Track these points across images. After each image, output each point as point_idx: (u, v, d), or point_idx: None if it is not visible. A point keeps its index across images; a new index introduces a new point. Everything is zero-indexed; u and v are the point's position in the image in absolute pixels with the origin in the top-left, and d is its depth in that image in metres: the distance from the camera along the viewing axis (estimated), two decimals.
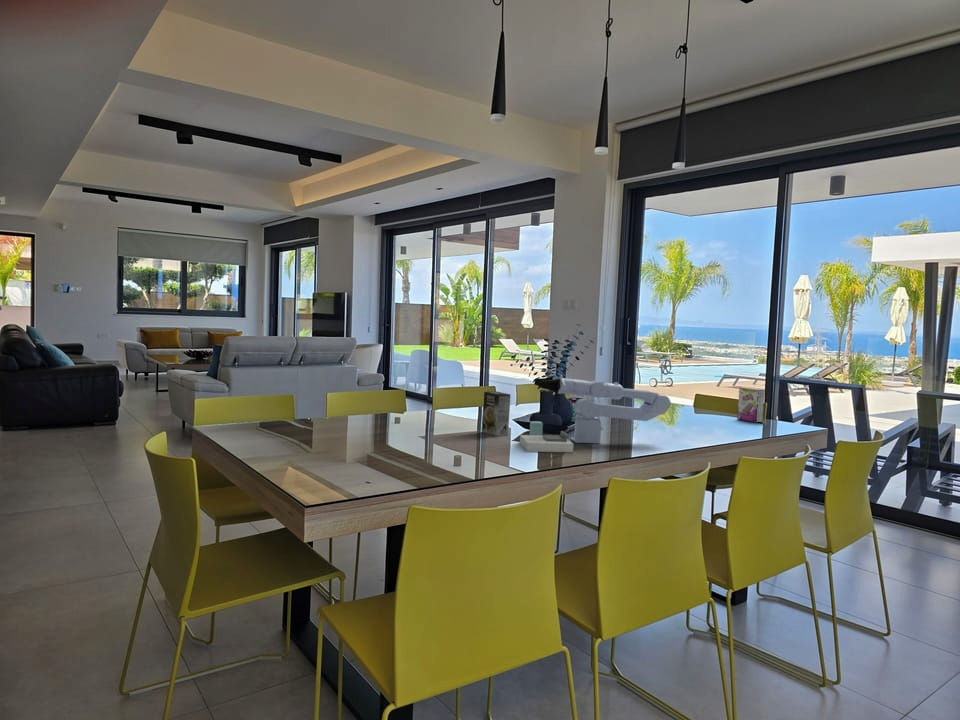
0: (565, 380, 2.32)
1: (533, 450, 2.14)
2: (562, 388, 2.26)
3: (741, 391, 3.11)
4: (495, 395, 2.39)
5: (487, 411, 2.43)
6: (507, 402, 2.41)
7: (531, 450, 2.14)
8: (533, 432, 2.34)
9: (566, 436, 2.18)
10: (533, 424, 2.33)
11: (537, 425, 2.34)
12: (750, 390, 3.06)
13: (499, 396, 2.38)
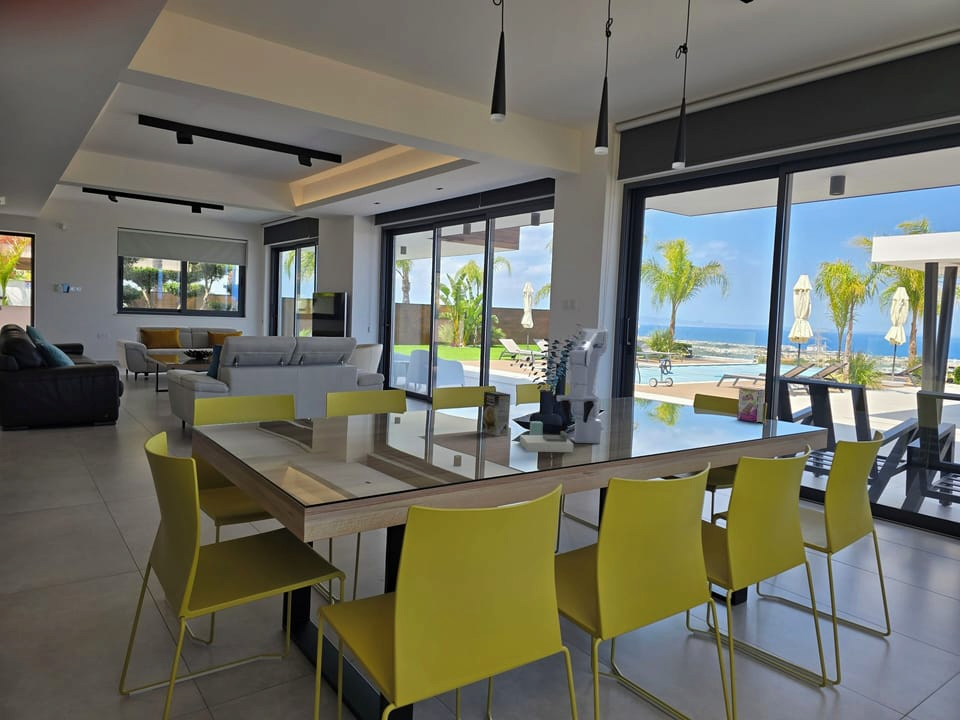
0: (584, 394, 2.19)
1: (533, 450, 2.14)
2: None
3: (741, 391, 3.11)
4: (495, 395, 2.39)
5: (487, 411, 2.43)
6: (507, 402, 2.41)
7: (531, 450, 2.14)
8: (533, 432, 2.34)
9: (566, 436, 2.18)
10: (533, 424, 2.33)
11: (537, 425, 2.34)
12: (750, 390, 3.06)
13: (499, 396, 2.38)
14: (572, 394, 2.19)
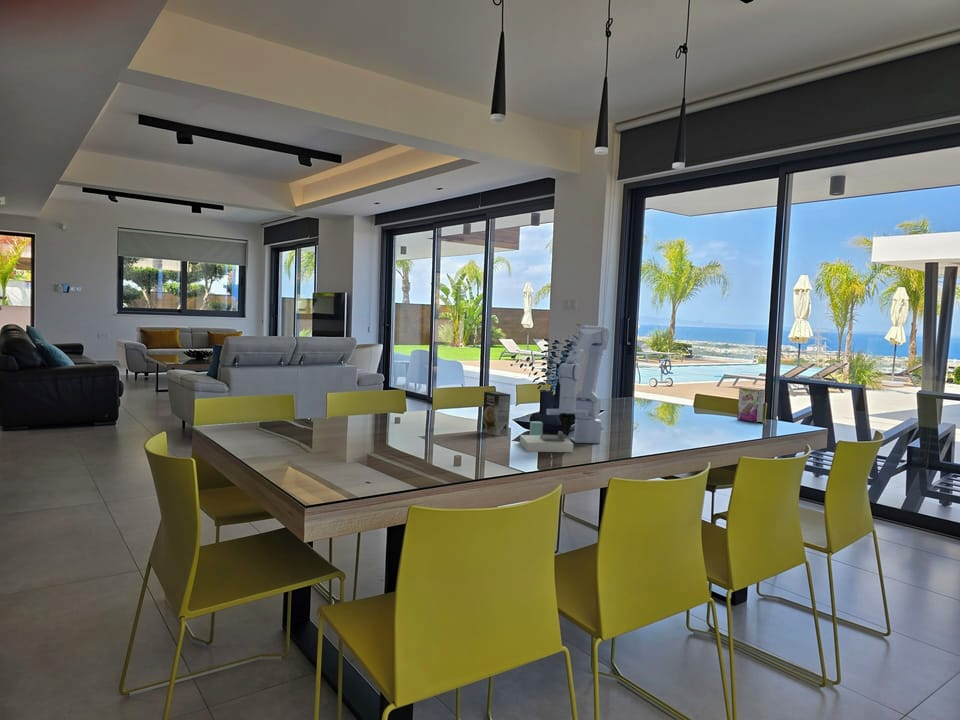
0: (573, 407, 2.19)
1: (533, 450, 2.14)
2: None
3: (741, 391, 3.11)
4: (495, 395, 2.39)
5: (487, 411, 2.43)
6: (507, 402, 2.41)
7: (531, 450, 2.14)
8: (533, 432, 2.34)
9: (564, 436, 2.18)
10: (533, 424, 2.33)
11: (537, 425, 2.34)
12: (750, 390, 3.06)
13: (499, 396, 2.38)
14: (562, 408, 2.19)
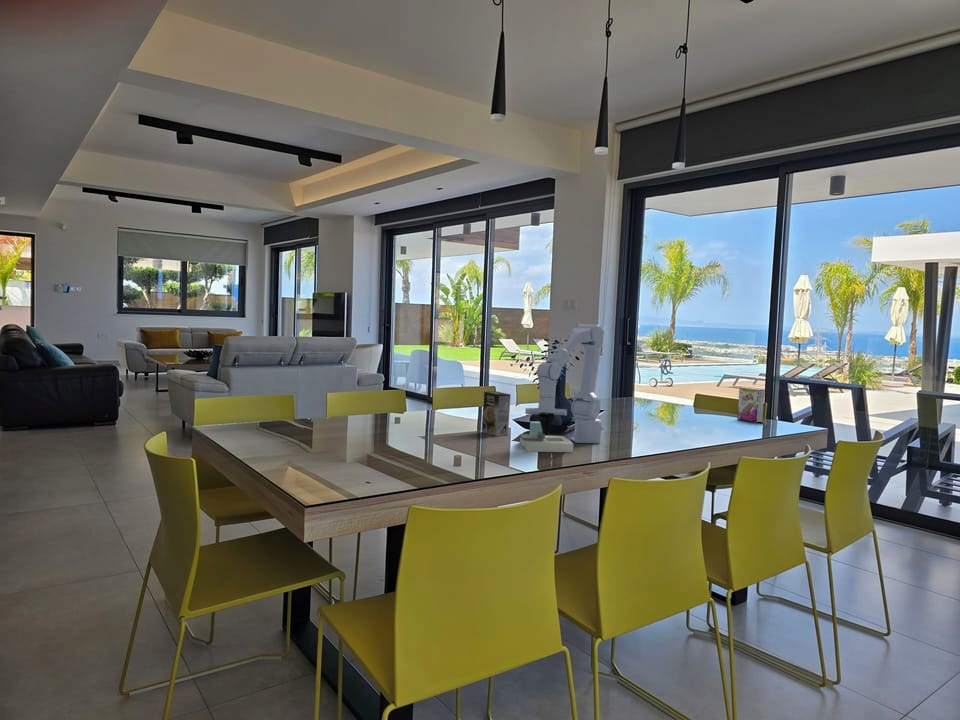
0: (552, 407, 2.18)
1: (533, 450, 2.14)
2: None
3: (741, 391, 3.11)
4: (495, 395, 2.39)
5: (487, 411, 2.43)
6: (507, 402, 2.41)
7: (531, 450, 2.14)
8: (533, 432, 2.34)
9: (542, 435, 2.17)
10: (533, 424, 2.33)
11: (537, 425, 2.34)
12: (750, 390, 3.06)
13: (499, 396, 2.38)
14: (541, 407, 2.18)
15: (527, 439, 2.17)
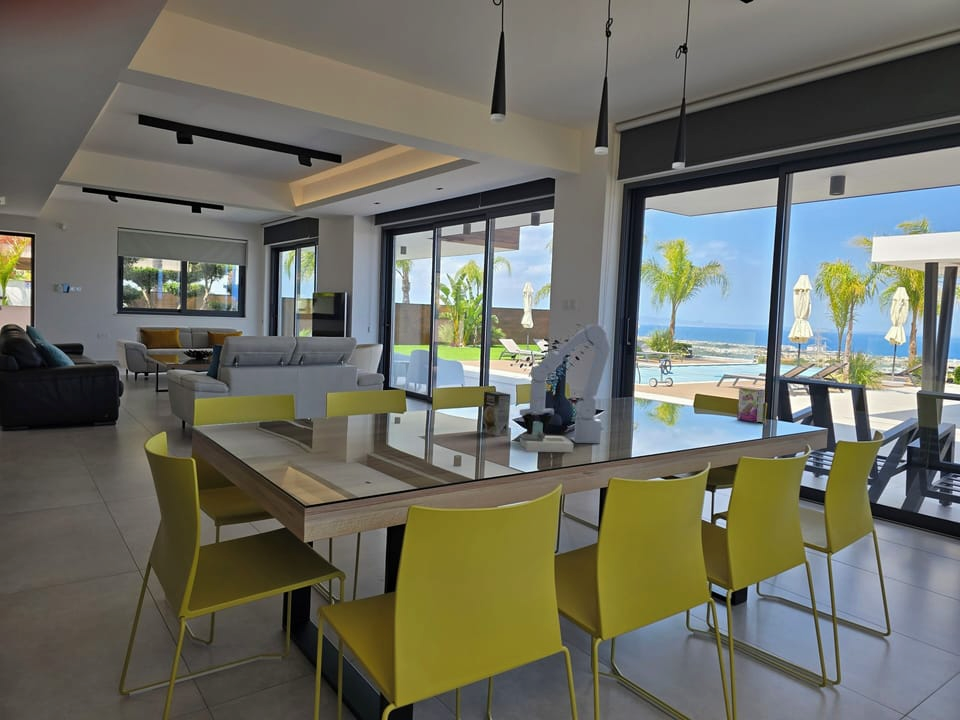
0: (544, 407, 2.34)
1: (533, 450, 2.14)
2: None
3: (741, 391, 3.11)
4: (495, 395, 2.39)
5: (487, 411, 2.43)
6: (507, 402, 2.41)
7: (531, 450, 2.14)
8: (533, 432, 2.34)
9: (542, 435, 2.17)
10: (533, 424, 2.33)
11: (537, 425, 2.34)
12: (750, 390, 3.06)
13: (499, 396, 2.38)
14: (535, 408, 2.33)
15: (527, 439, 2.17)
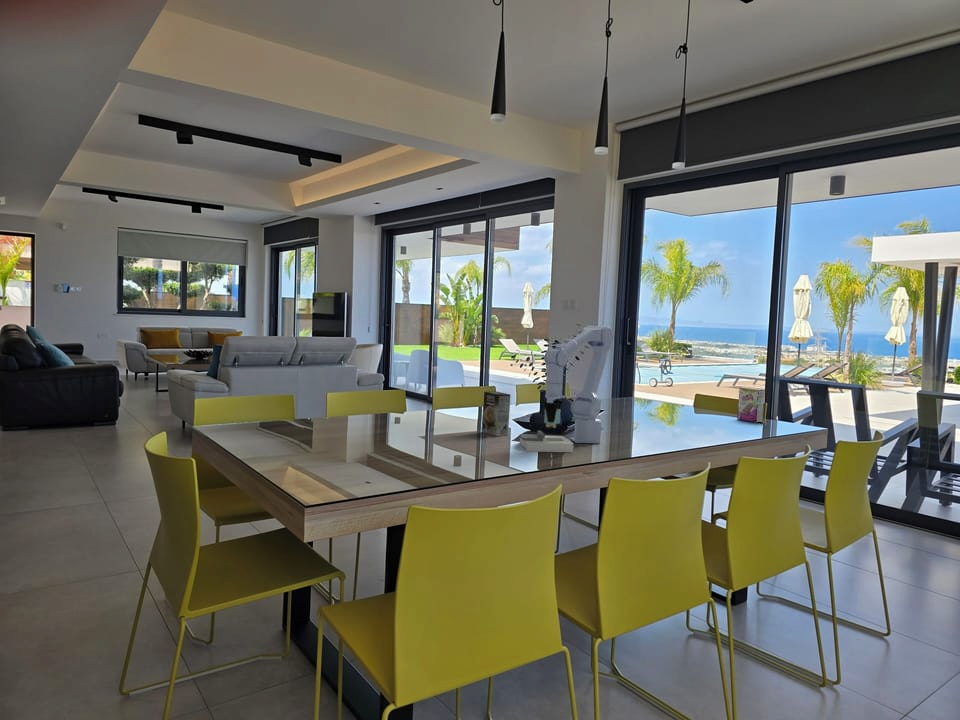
0: None
1: (533, 450, 2.14)
2: None
3: (741, 391, 3.11)
4: (495, 395, 2.39)
5: (487, 411, 2.43)
6: (507, 402, 2.41)
7: (531, 450, 2.14)
8: None
9: (542, 435, 2.17)
10: None
11: (557, 412, 2.22)
12: (750, 390, 3.06)
13: (499, 396, 2.38)
14: (557, 394, 2.20)
15: (527, 439, 2.17)
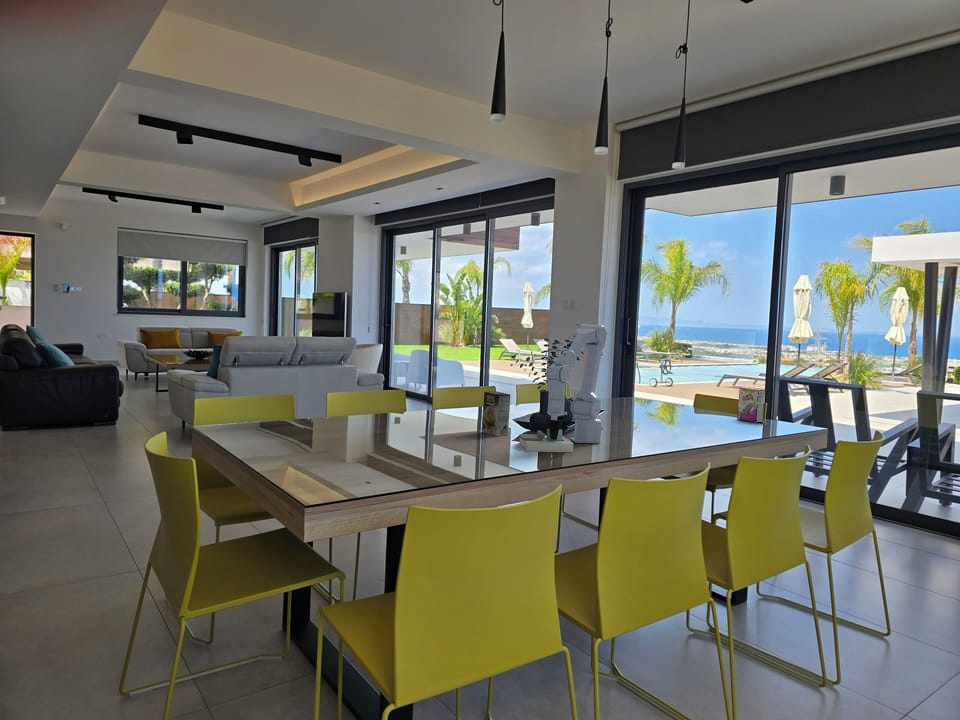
0: None
1: (533, 450, 2.14)
2: None
3: (741, 391, 3.11)
4: (495, 395, 2.39)
5: (487, 411, 2.43)
6: (507, 402, 2.41)
7: (531, 450, 2.14)
8: (557, 440, 2.19)
9: (542, 435, 2.17)
10: None
11: (559, 432, 2.20)
12: (750, 390, 3.06)
13: (499, 396, 2.38)
14: (560, 410, 2.18)
15: (527, 439, 2.17)
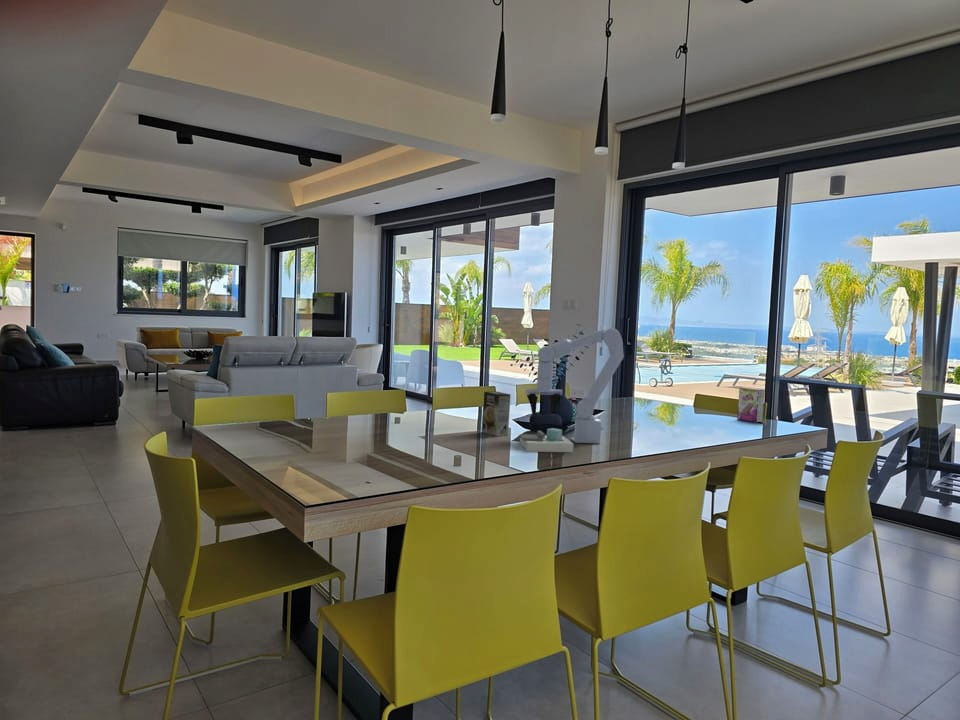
0: (551, 387, 2.37)
1: (533, 450, 2.14)
2: None
3: (741, 391, 3.11)
4: (495, 395, 2.39)
5: (487, 411, 2.43)
6: (507, 402, 2.41)
7: (531, 450, 2.14)
8: (557, 440, 2.19)
9: (542, 435, 2.17)
10: (557, 432, 2.19)
11: (559, 432, 2.20)
12: (750, 390, 3.06)
13: (499, 396, 2.38)
14: (541, 388, 2.36)
15: (527, 439, 2.17)
